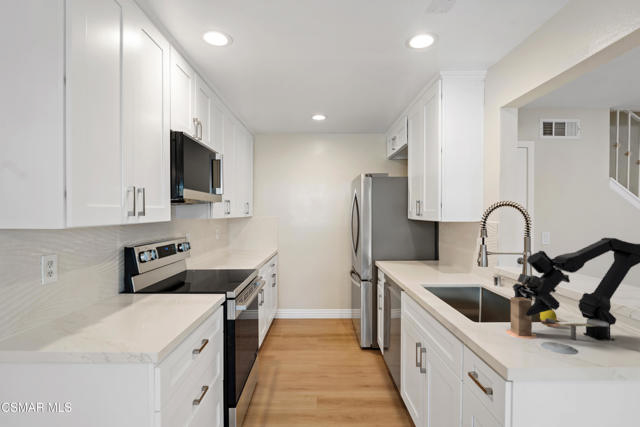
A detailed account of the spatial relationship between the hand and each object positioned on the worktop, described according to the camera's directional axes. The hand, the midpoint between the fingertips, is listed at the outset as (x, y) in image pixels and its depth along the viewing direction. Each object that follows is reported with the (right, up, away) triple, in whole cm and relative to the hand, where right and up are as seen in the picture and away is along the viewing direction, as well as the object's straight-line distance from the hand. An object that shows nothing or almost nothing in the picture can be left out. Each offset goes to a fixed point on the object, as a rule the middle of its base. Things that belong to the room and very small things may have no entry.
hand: (518, 311), depth 118 cm
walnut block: (+1, -8, 0) cm, 8 cm away
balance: (+16, -9, -6) cm, 19 cm away
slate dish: (+5, -9, -13) cm, 17 cm away
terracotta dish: (+1, -9, 0) cm, 10 cm away
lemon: (+19, -10, +12) cm, 25 cm away
